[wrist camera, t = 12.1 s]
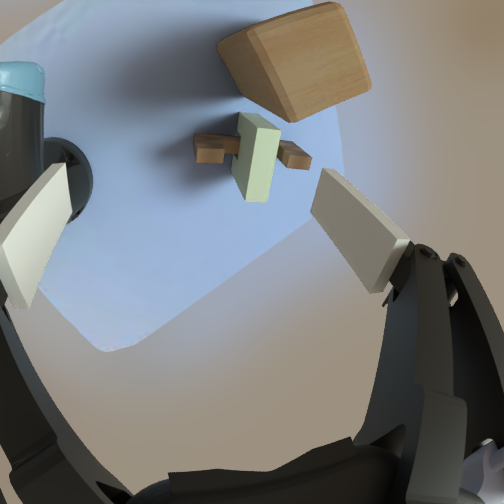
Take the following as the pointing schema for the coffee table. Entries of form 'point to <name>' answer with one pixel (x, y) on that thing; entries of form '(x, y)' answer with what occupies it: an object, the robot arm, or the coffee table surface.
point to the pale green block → (255, 156)
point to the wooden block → (297, 61)
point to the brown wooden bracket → (216, 146)
